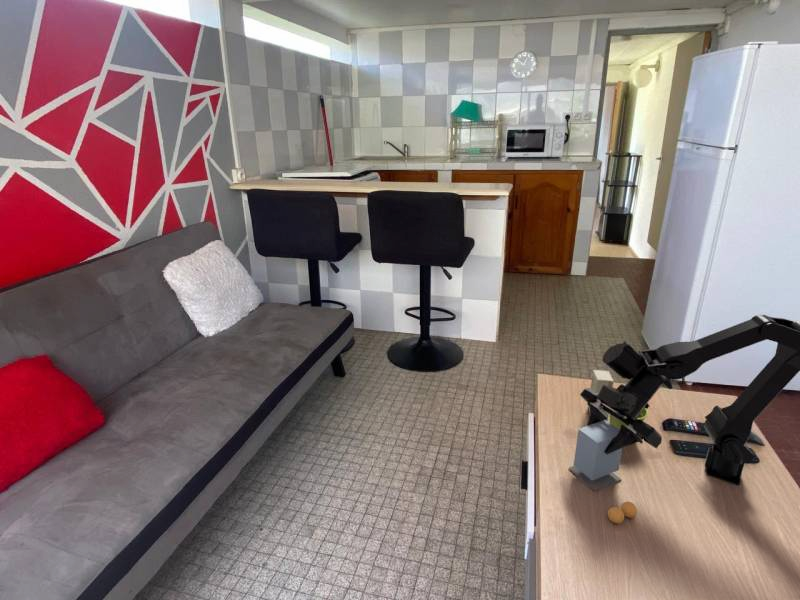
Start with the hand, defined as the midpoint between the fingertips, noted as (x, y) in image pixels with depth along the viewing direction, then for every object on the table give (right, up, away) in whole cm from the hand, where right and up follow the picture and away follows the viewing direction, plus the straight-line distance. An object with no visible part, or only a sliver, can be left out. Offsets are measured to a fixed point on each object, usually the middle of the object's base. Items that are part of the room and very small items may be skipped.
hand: (595, 445), depth 104 cm
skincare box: (+12, 0, +27) cm, 29 cm away
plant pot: (+14, -3, +17) cm, 22 cm away
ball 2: (+3, -12, -8) cm, 15 cm away
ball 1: (0, -13, -9) cm, 16 cm away
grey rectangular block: (+1, -6, +3) cm, 7 cm away
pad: (+1, -8, +4) cm, 9 cm away
